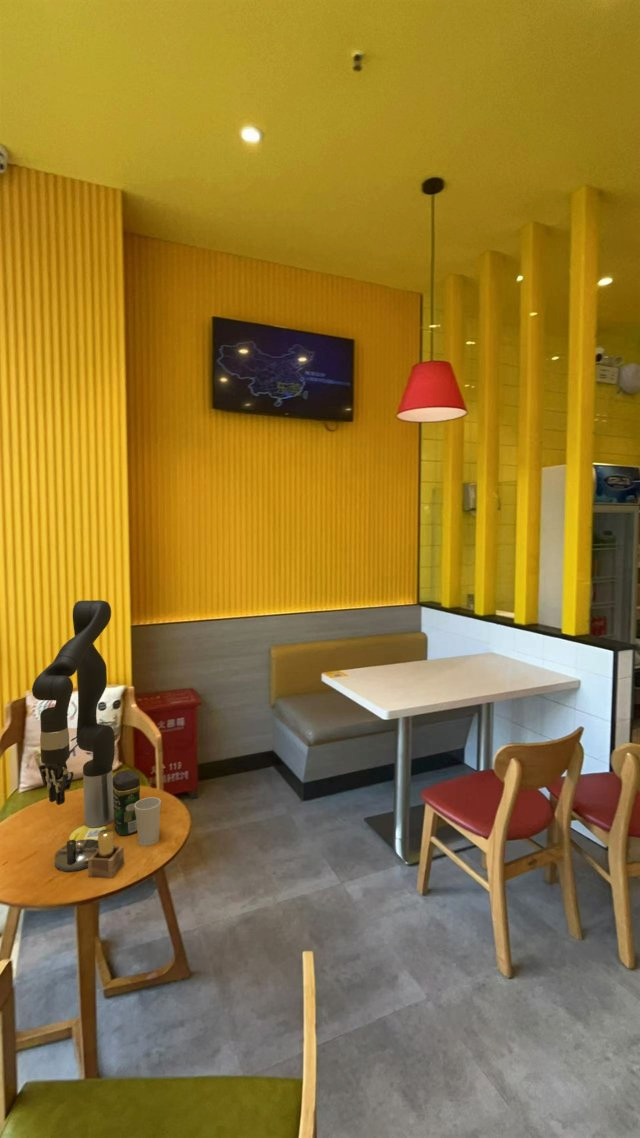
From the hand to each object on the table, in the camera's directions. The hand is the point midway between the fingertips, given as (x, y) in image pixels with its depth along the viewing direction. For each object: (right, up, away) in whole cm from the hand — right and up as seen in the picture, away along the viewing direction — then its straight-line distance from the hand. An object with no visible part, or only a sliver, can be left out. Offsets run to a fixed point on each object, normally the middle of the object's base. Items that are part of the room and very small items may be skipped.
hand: (57, 802), depth 155 cm
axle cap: (+5, -16, +4) cm, 17 cm away
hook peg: (+15, -19, -1) cm, 24 cm away
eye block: (+15, -19, -1) cm, 24 cm away
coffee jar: (+13, -18, +21) cm, 31 cm away
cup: (+22, -18, +14) cm, 32 cm away
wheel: (+5, -19, +4) cm, 20 cm away
